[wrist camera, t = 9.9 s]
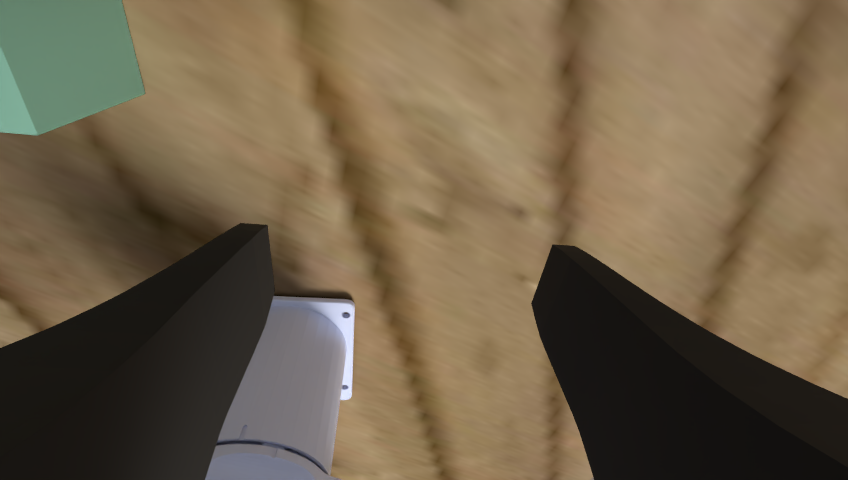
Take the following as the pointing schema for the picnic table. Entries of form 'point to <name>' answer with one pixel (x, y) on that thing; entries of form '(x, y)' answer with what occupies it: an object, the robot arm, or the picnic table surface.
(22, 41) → the green notched bar
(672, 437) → the robot arm
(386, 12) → the picnic table surface
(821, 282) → the picnic table surface
